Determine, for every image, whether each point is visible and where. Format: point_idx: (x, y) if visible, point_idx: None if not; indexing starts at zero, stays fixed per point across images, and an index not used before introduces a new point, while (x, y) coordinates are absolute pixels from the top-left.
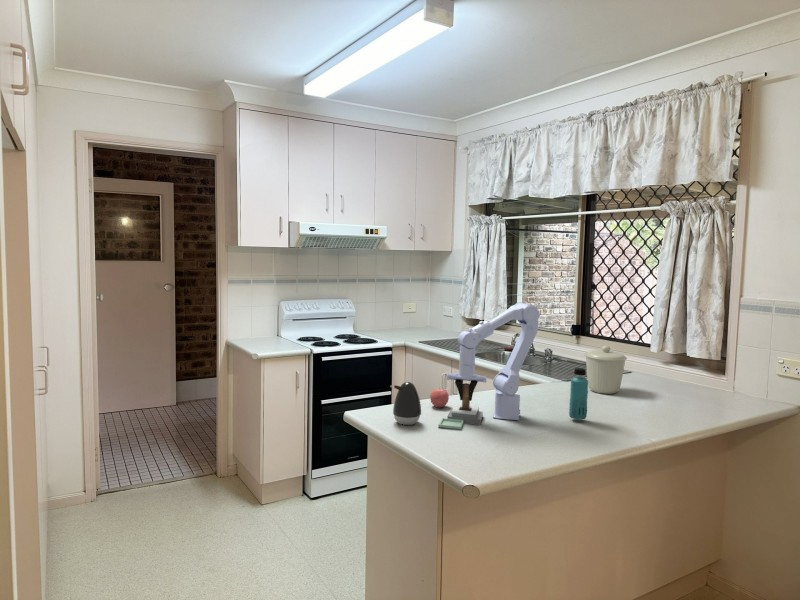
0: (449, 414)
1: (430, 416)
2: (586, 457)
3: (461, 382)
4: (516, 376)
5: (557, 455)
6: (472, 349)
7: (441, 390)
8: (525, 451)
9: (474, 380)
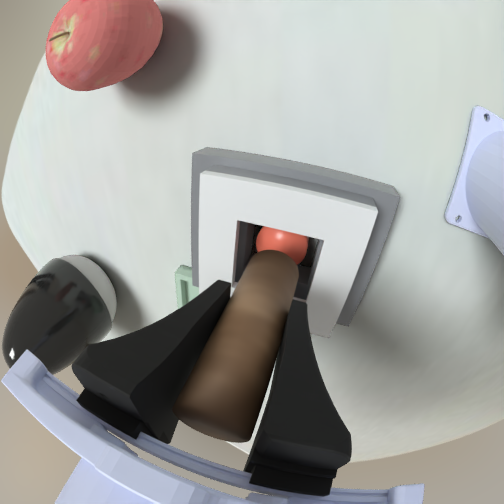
0: (196, 259)
1: (128, 205)
2: (475, 431)
3: (159, 434)
4: None
5: (439, 435)
6: None
7: (70, 46)
8: (393, 433)
9: (283, 494)
